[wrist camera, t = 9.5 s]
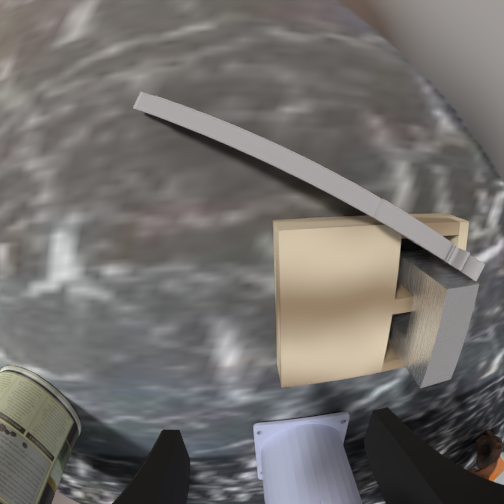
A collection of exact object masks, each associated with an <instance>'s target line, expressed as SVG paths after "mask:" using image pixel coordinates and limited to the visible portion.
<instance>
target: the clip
mask: <svg viewBox="0 0 504 504" xmlns="http://www.w3.org/2000/svg"><path fill="white" fill-rule="evenodd" d="M397 281H398V282H399V283H400V284H402V285H403V286H404V287H405V288H406V289H407V290H408V291H410V292H411V293H412V294H413V295H414V298H413V303H412V309H411V312H409V313H403V314H396V315H392V320H391V326H390V331H389V337H388V343H389V345H390V346H391V348H392V349H393V350H394V352H395V353H396V354H397V356H398V357H399V359H400V360H401V361H402V363H403V364H404V366H405V367H406V368H407V370H408V371H409V373H410V374H411V376H412V377H413V378H414V380H415V381H416V383H417V384H418V386H419V387H420V388H423V387H427V386H430V385H433V384H437V383H440V382H443V381H446V380H449V379H451V378H452V375H453V372H454V370H455V367H456V364H457V361H458V358H459V355H460V352H461V349H462V346H463V343H464V340H465V337H466V334H467V330H468V327H469V323H470V320H471V316H472V312H473V308H474V304H475V300H476V296H477V292H478V287H479V283H477V282H476V281H474V280H472V279H471V278H469V277H468V276H466V275H465V274H463V273H462V272H460V271H459V270H457V269H455V268H454V267H452V266H451V265H449V264H447V263H446V262H444V261H442V260H441V259H439V258H438V257H436V256H434V255H433V254H431V253H429V252H428V251H426V250H411V251H400V259H399V268H398V277H397Z"/></svg>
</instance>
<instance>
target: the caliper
mask: <svg viewBox="0 0 504 504" xmlns="http://www.w3.org/2000/svg"><path fill="white" fill-rule="evenodd" d="M133 108H134V109H137V110H140V111H142V112H145V113H148V114H151V115H154V116H156V117H159V118H161V119H164V120H166V121H169V122H172V123H174V124H177V125H179V126H182V127H185V128H187V129H190V130H192V131H195V132H197V133H199V134H202V135H204V136H207V137H209V138H212V139H214V140H216V141H219V142H221V143H223V144H226V145H228V146H230V147H233V148H235V149H237V150H239V151H242V152H244V153H246V154H248V155H251V156H253V157H255V158H257V159H259V160H261V161H264V162H266V163H268V164H270V165H272V166H274V167H276V168H278V169H281V170H283V171H285V172H287V173H289V174H291V175H293V176H295V177H297V178H299V179H301V180H303V181H305V182H307V183H309V184H311V185H313V186H315V187H317V188H319V189H321V190H323V191H325V192H326V193H328V194H330V195H332V196H334V197H336V198H338V199H340V200H342V201H343V202H345V203H347V204H349V205H351V206H353V207H354V208H356V209H358V210H360V211H362V212H364V213H365V214H367V215H368V216H370V217H372V218H374V219H376V220H377V221H379V222H381V223H383V224H384V225H386V226H388V227H390V228H391V229H393V230H395V231H396V232H398V233H400V234H401V235H403V236H405V237H406V238H408V239H410V241H412V242H413V243H415V244H417V245H419V246H420V247H422V248H424V249H425V250H427V251H428V252H429V253H431V254H433V255H434V256H436V257H438V258H439V259H441V260H442V261H444V262H446V263H447V264H449V265H451V266H452V267H454V268H455V269H457V270H459V271H460V272H462V273H463V274H465V275H466V276H468V277H469V278H471V279H472V280H475V281H477V279H478V277H479V275H480V273H481V271H482V269H483V268H484V266H485V264H484V263H482V262H481V261H479V260H477V259H476V258H474V257H472V256H471V255H470V253H469V252H467V251H465V250H463V249H460V248H458V247H457V246H455V245H453V243H452V242H450V241H449V240H447V239H446V238H444V237H443V236H442V235H440V234H439V233H437V232H436V231H434V230H432V229H431V228H429V227H428V226H426V225H425V224H423V223H422V222H420V221H419V220H417V219H415V218H414V217H412V216H411V215H409V214H407V213H406V212H404V211H403V210H401V209H399V208H398V207H396V206H394V205H393V204H391V203H389V202H388V201H386V200H384V199H381V198H379V197H378V196H376V195H374V194H372V193H371V192H369V191H367V190H365V189H364V188H362V187H360V186H358V185H357V184H355V183H353V182H351V181H349V180H347V179H346V178H344V177H342V176H340V175H338V174H336V173H334V172H332V171H331V170H329V169H327V168H325V167H323V166H321V165H319V164H317V163H315V162H313V161H311V160H309V159H307V158H305V157H303V156H301V155H299V154H297V153H295V152H293V151H291V150H288V149H286V148H284V147H282V146H280V145H278V144H276V143H274V142H271V141H269V140H267V139H265V138H262V137H260V136H258V135H256V134H253V133H251V132H249V131H247V130H244V129H242V128H239V127H237V126H235V125H232V124H230V123H227V122H225V121H223V120H220V119H218V118H215V117H213V116H210V115H207V114H205V113H202V112H200V111H197V110H194V109H192V108H189V107H186V106H183V105H181V104H178V103H175V102H172V101H169V100H167V99H164V98H161V97H158V96H152V95H149V94H146V93H142V92H140V94H139V96H138V98H137V101H136V103H135V105H134V107H133Z"/></svg>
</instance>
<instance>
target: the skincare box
mask: <svg viewBox="0 0 504 504" xmlns="http://www.w3.org/2000/svg"><path fill="white" fill-rule="evenodd" d="M489 480H490V481H493V482H496V483H499V484H503V485H504V452H502V453H501V455H500V457H499V459H498V462H497V466H496V468H495V470H494V472H493V473H492V474H491V476H490V477H489Z"/></svg>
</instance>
